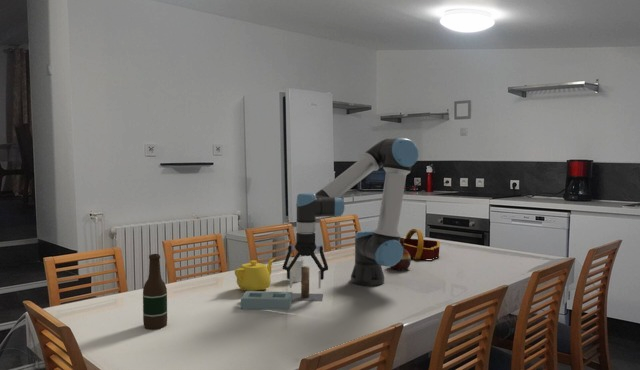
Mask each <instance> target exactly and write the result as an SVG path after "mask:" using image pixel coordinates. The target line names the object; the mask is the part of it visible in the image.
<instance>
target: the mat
mask: <svg viewBox="0 0 640 370" xmlns="http://www.w3.org/2000/svg"><path fill="white" fill-rule="evenodd" d="M323 297H324V293H309V298H302V297H301V292H297V293H296V292H292V302H297V301H298V302H299V301H301V302H323V299H324V298H323Z"/></svg>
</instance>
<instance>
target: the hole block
mask: <svg viewBox="0 0 640 370" xmlns="http://www.w3.org/2000/svg"><path fill="white" fill-rule="evenodd" d="M292 293H293V291H268V290H267V291H266V290H262V291H261V290H255V291H249V290H245V292H244V294H243V295H242V296H241V297H240V309H241V310H258V311H260V310H263V311H264V310H265V311H267V310H268V311H269V310H290V309H291V306H292V303H293V301H292Z"/></svg>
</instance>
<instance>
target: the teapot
mask: <svg viewBox="0 0 640 370" xmlns="http://www.w3.org/2000/svg"><path fill="white" fill-rule="evenodd" d="M275 260H276V259H275V258H273V259H270V260H269V261H268V263H267V266H266V264H264V263H260V262H258V261H257V260H254V259H253V260H250V261H249V262H248V263H243V264H241V265H240V267H239V268H235V270H234V275H235V278H236V284H237V285H238V287H239V288H240V291H243V292H244V291H245V292H246V291H266V290H267V289H268V288H269V287H270V285H271V283H272V282H271V274H272V265H273V262H274V261H275Z"/></svg>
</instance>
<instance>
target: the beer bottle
mask: <svg viewBox="0 0 640 370" xmlns="http://www.w3.org/2000/svg"><path fill="white" fill-rule="evenodd" d="M148 259H149V266H148V278H147V280H146V281H145V283H144V285H143V287H142V313H143V314H142V319H143V320H142V322H143V327H144V329H145V330H149V331H150V330H151V331H154V330H161V328H162V329H164V328H165V327H167V325H168V291H167V286H166V283H165V282H164V280H163V279H162V274H161V273H162V272H161V260H160V259H161V255H160V254H159V253H151V254H149V255H148Z"/></svg>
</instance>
